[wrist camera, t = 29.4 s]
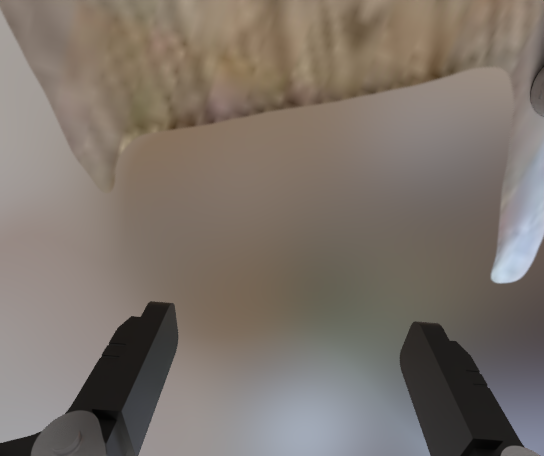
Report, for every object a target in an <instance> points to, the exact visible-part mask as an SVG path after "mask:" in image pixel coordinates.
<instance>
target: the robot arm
mask: <svg viewBox="0 0 544 456" xmlns="http://www.w3.org/2000/svg"><path fill="white" fill-rule="evenodd" d="M531 103H532V106H533V108H534V110H535V111H536V112H537V113H538V114H540V115H541V116H543V117H544V67H543V68H542V69H541V71H540V72H539V73H538V75H537V77H536V79H535V81H534V83H533V86H532V90H531ZM177 344H178V329H177V320H176V312H175V306H174V304H173V303H163V302H152V301H151V302H149V303H148V305H147V306H146V308H145V310H144V312H143V314H142V316H141V317H134V316H131V317H130V318H129V319H128V320H127V321H125V322H124V323H123V324H122V325H121V326H120V327H118V329H117V330H116V332H115V333H114V335H113V337H112V339H111V340H110V342H109V345H108V346H107V347H106V349H105V350H104V352H103V354H102V357H101V358H100V359H99V361H98V362H97V364H96V365H95V367H94V369H93V370H92V372H91V374H90V375H89V377H88V379H87V380H86V382H85V384H84V385H83V387H82V389H81V391H80V392H79V394H78V395H77V397H76V399H75V401H74V402H73V404H72V405H71V407H70V408H69V410H68V411H67V412H66V413H65V414H64V415H62V416H60V417H58V418H57V419H55V420H54V421H52V422H51V423H50V424H49V425H48V426H47V427H46V428H45V429H44V430H43V431H41V432H39V433H36V434H34V435H31V436H28V437H24V438H20V439H16V440H11V441H7V442H4V443H0V456H138V455H139V452H140V449H141V446H142V444H143V441H144V438H145V435H146V433H147V430H148V427H149V424H150V422H151V419H152V416H153V413H154V411H155V408H156V405H157V402H158V400H159V397H160V394H161V391H162V389H163V386H164V383H165V380H166V378H167V375H168V372H169V369H170V367H171V364H172V361H173V358H174V355H175V353H176V349H177ZM400 367H401V371H402V373H403V377H404V379H405V382H406V385H407V388H408V391H409V394H410V397H411V400H412V403H413V406H414V409H415V411H416V414H417V417H418V420H419V423H420V426H421V428H422V432H423V434H424V437H425V440H426V443H427V446H428V449H429V452H430V455H431V456H540V455H538V454H537V453H535V452H533V451H532V450H529V449H527V448H525V447H524V446H523V445H522V443H521V441H520V440H519V438H518V436H517V435H516V433H515V431H514V430H513V428H512V426H511V424H510V423H509V421H508V419H507V417H506V416H505V414H504V412H503V411H502V409H501V407H500V406H499V404H498V402H497V400H496V399H495V397H494V395H493V394H492V392H491V390H490V388H488V387H487V383H486V382H485V380H484V378H483V376H482V375H481V374H480V373H479V370H478V368H477V366H476V364H475V363H474V361H473V359H472V357H471V356H470V355H469V354H468V353H467V352H466V351H465V350H464V349H463V348H462V347H461V346H460V345H459V344H458V343H457V342H456V341H449V339H448V337H447V335H446V333H445V332H444V329H443V328H442V326H441V325H440V324H438V323H427V322H413V323H412V325H411V327H410V329H409V332H408V334H407V337H406V339H405V342H404V344H403V347H402V349H401V352H400Z"/></svg>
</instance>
